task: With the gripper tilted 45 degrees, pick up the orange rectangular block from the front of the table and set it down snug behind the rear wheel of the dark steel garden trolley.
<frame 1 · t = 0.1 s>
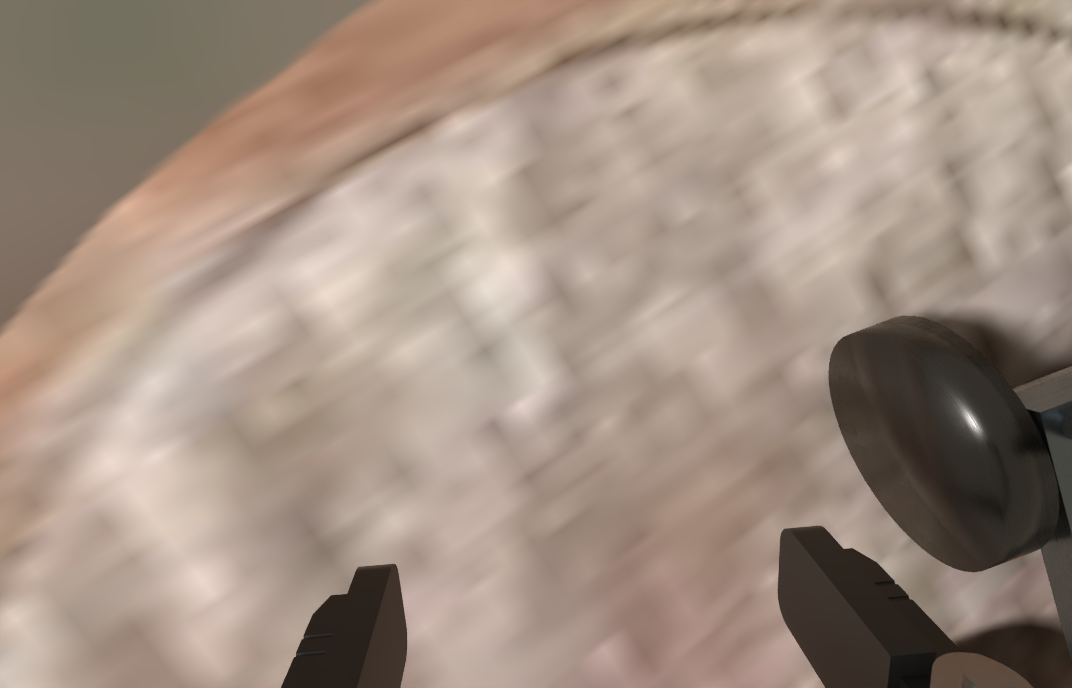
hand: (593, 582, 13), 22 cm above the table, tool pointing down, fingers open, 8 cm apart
trolley: (1049, 506, 37), on the table
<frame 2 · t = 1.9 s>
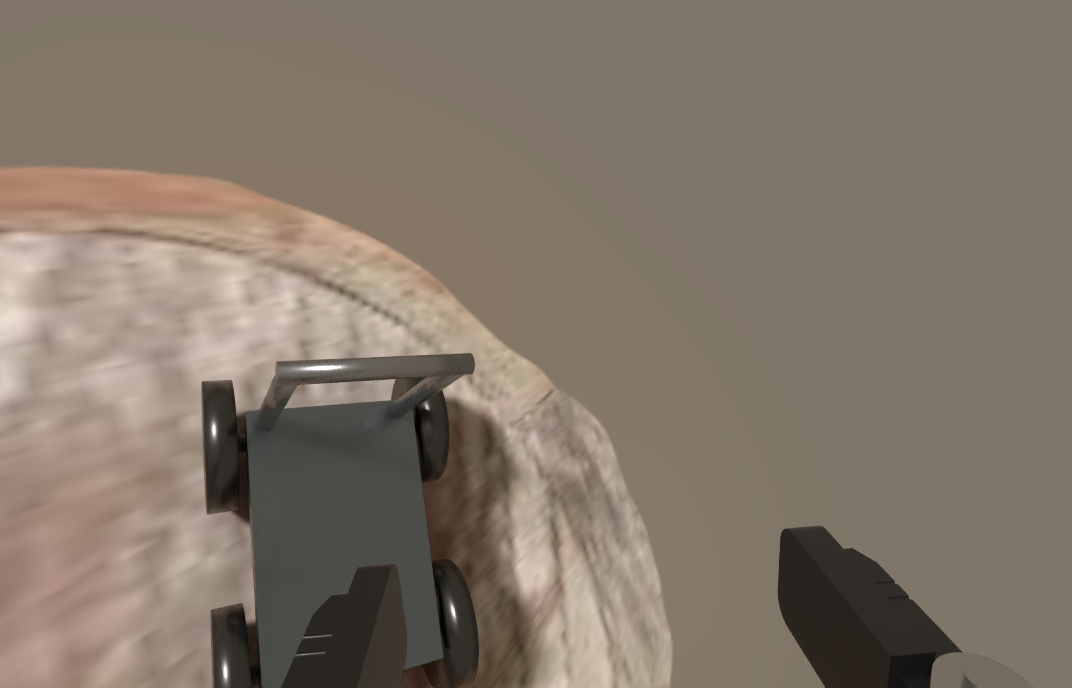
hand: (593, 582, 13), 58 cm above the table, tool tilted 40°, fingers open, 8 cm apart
trolley: (324, 539, 64), on the table
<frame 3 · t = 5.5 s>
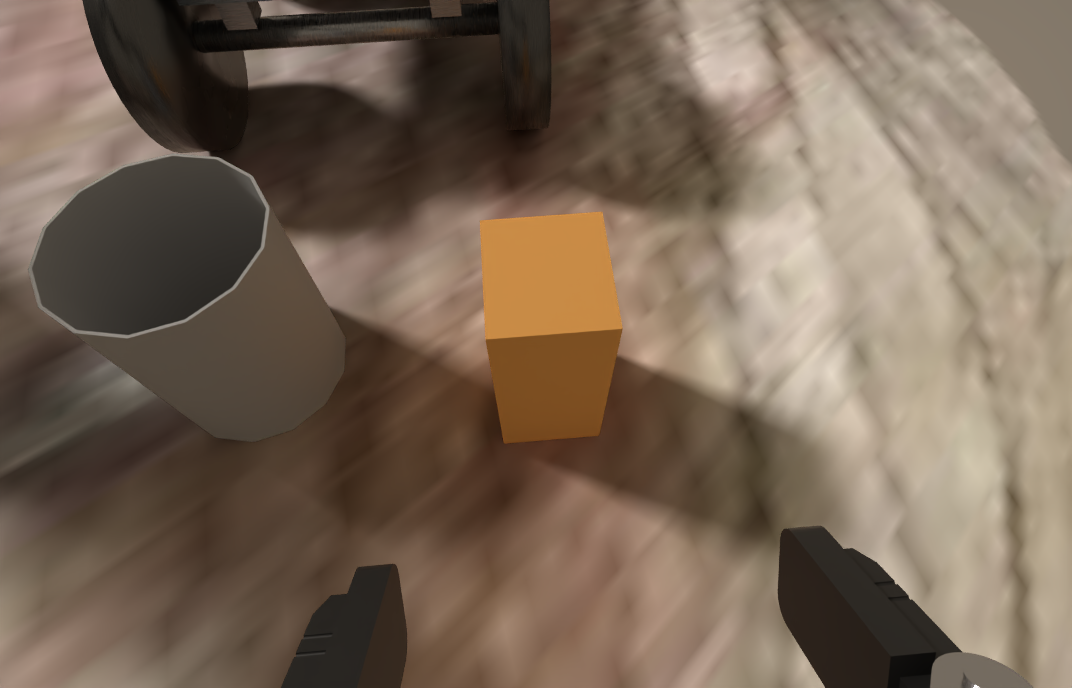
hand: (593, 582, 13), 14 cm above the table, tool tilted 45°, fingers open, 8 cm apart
trolley: (382, 18, 44), on the table
cup: (264, 364, 31), on the table
orange rectangular block: (546, 391, 30), on the table
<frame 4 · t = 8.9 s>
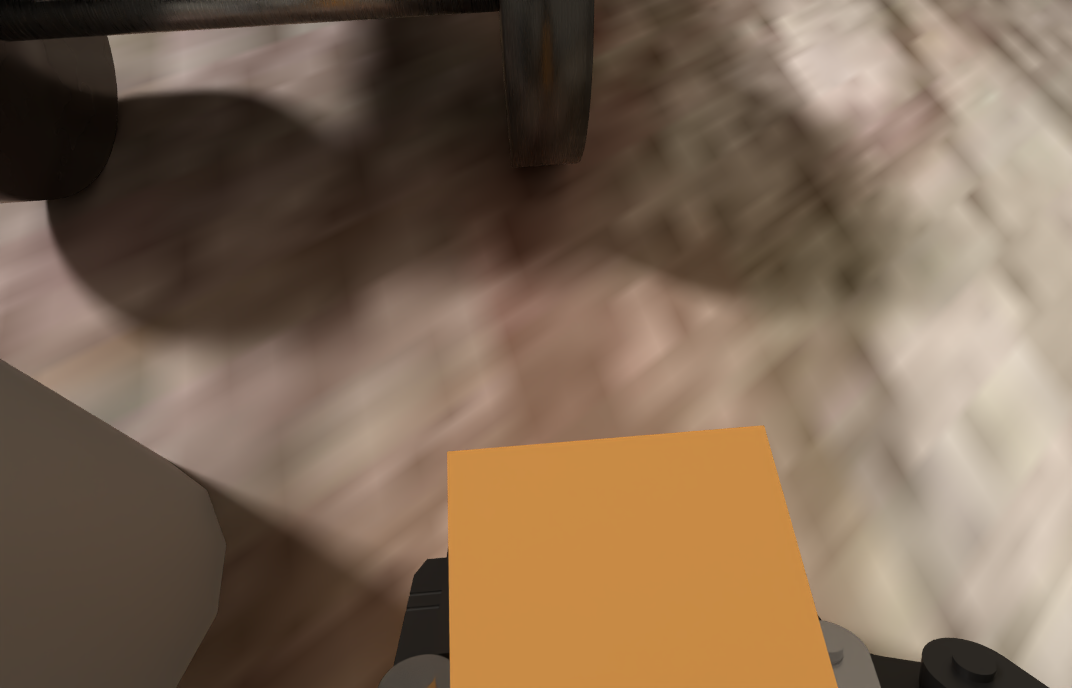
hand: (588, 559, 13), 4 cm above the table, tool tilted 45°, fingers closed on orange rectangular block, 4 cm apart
cup: (77, 596, 17), on the table
orange rectangular block: (586, 662, 16), on the table, touching gripper
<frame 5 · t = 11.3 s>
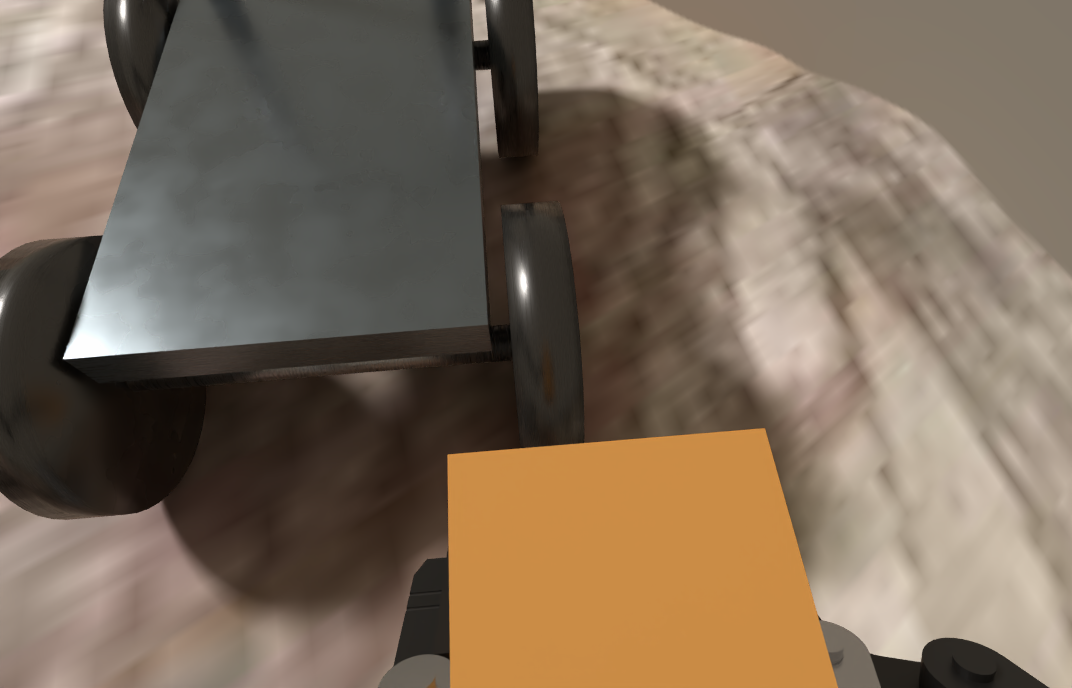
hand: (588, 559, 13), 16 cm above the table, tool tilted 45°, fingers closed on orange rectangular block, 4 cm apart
trolley: (369, 258, 37), on the table
orange rectangular block: (587, 664, 16), point 12 cm above the table, touching gripper
when the fingers open (5 cm above the table, at t = 14.1 s): orange rectangular block stays where it is, on the table.
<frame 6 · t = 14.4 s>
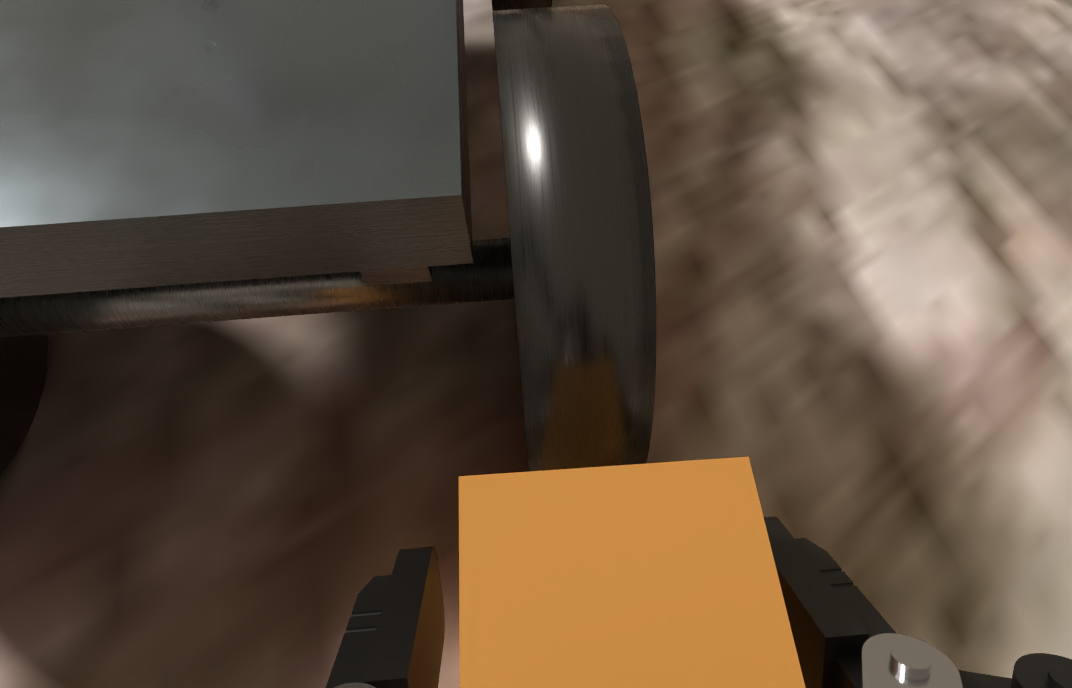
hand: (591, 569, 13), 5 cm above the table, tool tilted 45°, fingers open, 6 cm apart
trolley: (309, 176, 26), on the table
orange rectangular block: (584, 667, 17), on the table
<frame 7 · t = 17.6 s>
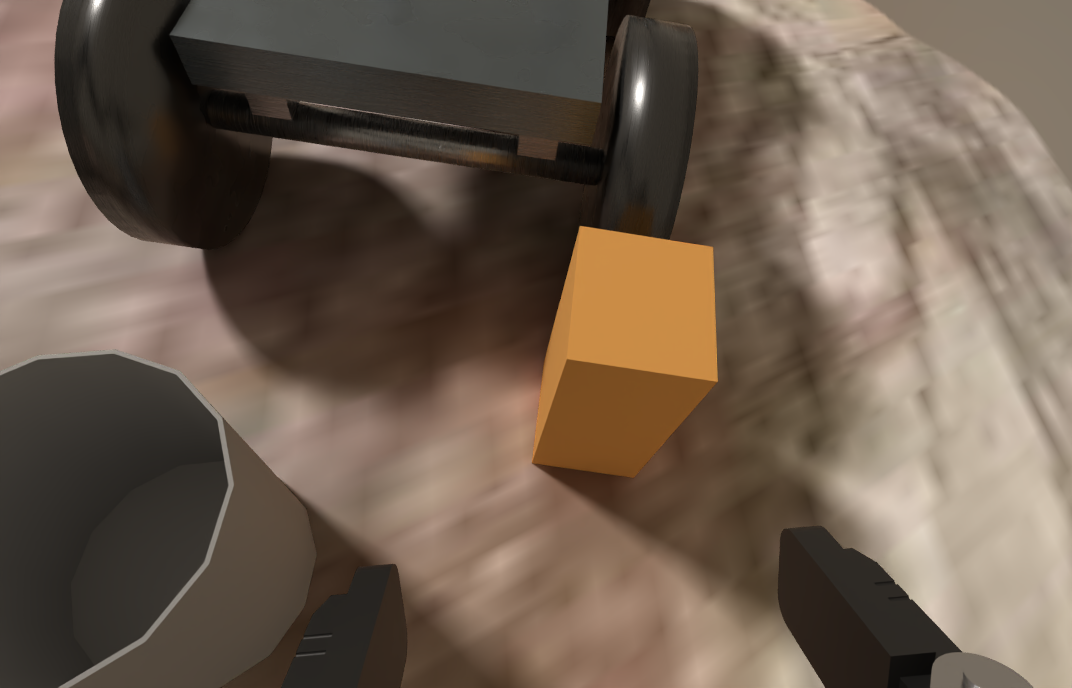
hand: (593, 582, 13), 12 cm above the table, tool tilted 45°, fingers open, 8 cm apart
trolley: (450, 97, 37), on the table
cup: (202, 571, 23), on the table
orange rectangular block: (587, 417, 28), on the table
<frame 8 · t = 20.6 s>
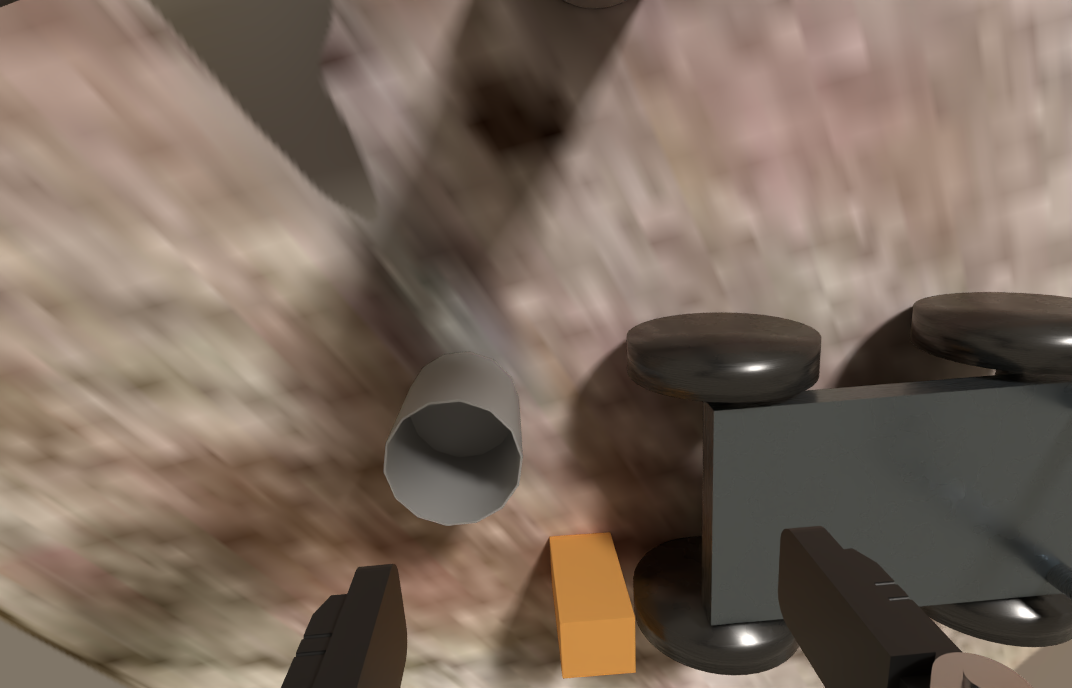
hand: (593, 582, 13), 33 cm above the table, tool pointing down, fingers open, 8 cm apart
trolley: (816, 434, 49), on the table
cup: (464, 403, 47), on the table
orange rectangular block: (580, 558, 51), on the table
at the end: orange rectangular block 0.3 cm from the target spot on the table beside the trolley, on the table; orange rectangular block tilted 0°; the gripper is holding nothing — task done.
